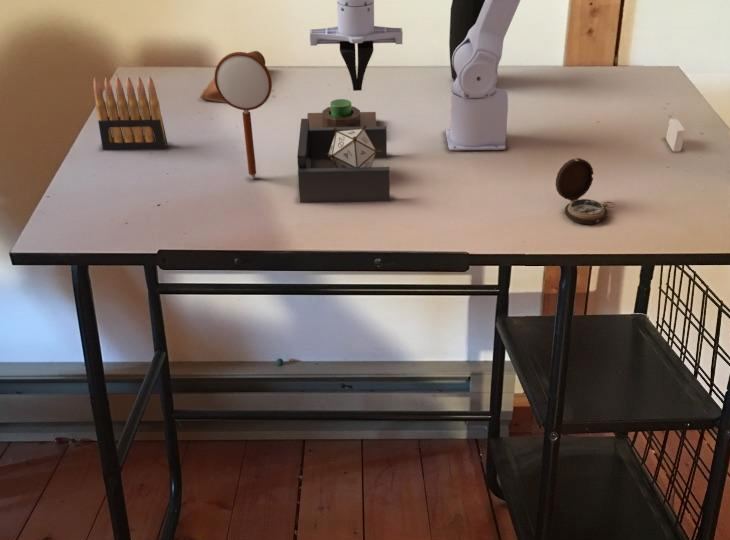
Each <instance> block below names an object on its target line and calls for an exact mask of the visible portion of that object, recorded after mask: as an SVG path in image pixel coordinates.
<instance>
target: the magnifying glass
mask: <svg viewBox="0 0 730 540" xmlns="http://www.w3.org/2000/svg"><path fill="white" fill-rule="evenodd" d="M213 78H214V79H215V85H216V89H217V91H218V93H219V94H220V96H221V97H222V99H223V100H224V101H225V102H227V103H226V104H228V105H229V106H231V107H232V108H235V109H237V110H241V111H242V112H241V114H242V123H243V132H244V141H245V142H244V143H245V153H246V161H247V170H248V175H249V176H250V179H251V180H255V179H256V174H257V167H256V166H257V165H256V157H255V146H254V137H253V127H252V126H253V125H252V117H251V111H252V110H253V111H254V110H256V109H258V108H260V107H262V106H263V105H264V104H265V103H267V101H268V99H269V98H270V97H271V93H272V88H273V82H272V81H273V80H272V75H271V72H270V71H269V69H268V67H267V66H266V63H265V64H264V63H263V62H262V61H261V60H260V59H258V58H257V57H255V56H254V55H252V54H249V52H244V51H236V52H231V53H229V54H226V55H225V56H224V57H222V58H221V59H220V61H218V63H217V65H216V68H215V71H214V77H213Z"/></svg>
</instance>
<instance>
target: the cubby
mask: <svg viewBox="0 0 730 540" xmlns="http://www.w3.org/2000/svg"><path fill="white" fill-rule="evenodd" d="M335 128H336V129H337V131H342V130H352V129H362V128H363V127H335ZM365 131H366V133H367V135H368V137H369V138H370V140H371V142H372V144H373V145H374V147H375V149H376V150H381V152H380V153H376V155H375V158H374V159H386V158H387V155H388V152H387V151H388V147H387V144H388V143H387V142H388V141H387V140H388V139H387V138H388V137H387V136H388V135H387V133H388V132H387V126H386V125H383V126H380V125H379V126H376V127H366V128H365ZM334 135H335V131H334V130H333V127H319V128H309V119H307V118H301V119H300V127H299V137H298V145H297V146H298V147H297V179H298V193H299V203H329V202H330V203H332V202H383V201H384V202H385V201H391V199H390V197H391V194H390V193H391V192H390V191H391V190H390V188H391V187H390V185H391V184H390V183H391V181H390V179H391V178H390V175H391V172H390V171H391V170H390V166H371V167H355V168H335V167H311V165H312V160H322V159H323V160H330V158H329V157H328V156H326V157H325V156H324V154H325V153H328V152H329V149H330V147H331V144H332V141H333V138H334Z"/></svg>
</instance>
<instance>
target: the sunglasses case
mask: <svg viewBox="0 0 730 540" xmlns="http://www.w3.org/2000/svg"><path fill="white" fill-rule="evenodd" d="M248 53H249V54H252V55H254V56H255V57H257V58H258V59H260V60H261V61H262V62H263V63H264V64H265V65H266V59H265V57H264V55H263V54H262V53H261V52H260V51H258V50H254V51H249V52H248ZM199 97H200V99H202V100H204V101H205V100H206V101H210V102H215V103H222V104H228V103H227V102H225V101H224V100H223V99H222V97H221V96H220V94H219V93H218V91H217V89H216V85H215V79H214V77H213V78H212V80H210V82H209V83H208V84H207V86H206V87H205V88H204V89H203V90H202V92H201V93H200V96H199Z"/></svg>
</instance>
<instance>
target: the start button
mask: <svg viewBox="0 0 730 540" xmlns="http://www.w3.org/2000/svg"><path fill="white" fill-rule="evenodd" d="M329 105H330V106H329V107H331V115H332V116H334V117H347V116H350V115H352V101H351V100H349V99H346V98H345V99H344V98H338V99H333V100H332V101H331V102H330V104H329Z"/></svg>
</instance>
